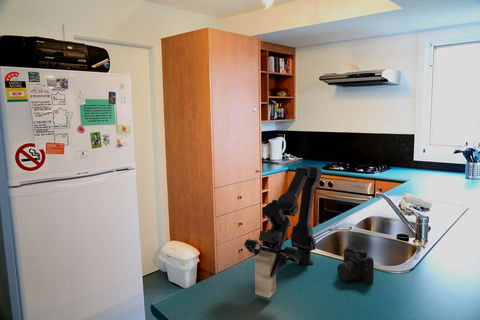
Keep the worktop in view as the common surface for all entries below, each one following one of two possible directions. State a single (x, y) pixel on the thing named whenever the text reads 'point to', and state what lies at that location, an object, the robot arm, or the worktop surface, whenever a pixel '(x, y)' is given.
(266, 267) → the maple block
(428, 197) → the worktop surface
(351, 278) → the camera
